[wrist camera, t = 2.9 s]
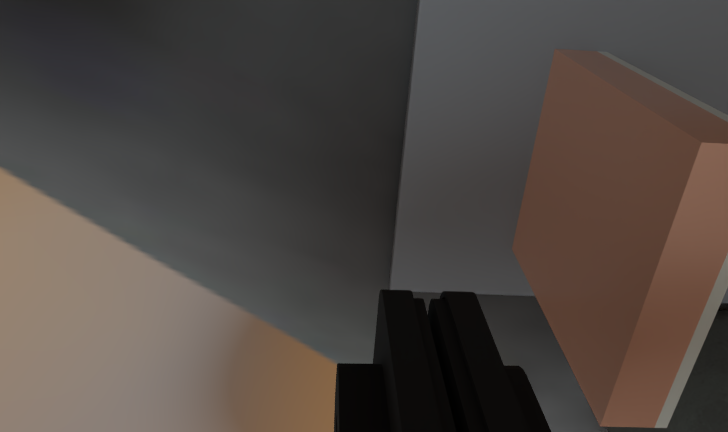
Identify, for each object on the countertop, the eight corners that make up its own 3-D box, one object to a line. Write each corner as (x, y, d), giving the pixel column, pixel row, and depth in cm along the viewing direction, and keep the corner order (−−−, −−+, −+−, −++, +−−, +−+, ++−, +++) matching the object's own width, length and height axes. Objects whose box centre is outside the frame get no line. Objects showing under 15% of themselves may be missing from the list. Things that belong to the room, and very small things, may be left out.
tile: (606, 52, 17) (788, 147, 10) (555, 250, 20) (666, 428, 13) (554, 48, 17) (701, 142, 10) (511, 248, 20) (599, 426, 13)
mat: (882, -3, 17) (897, -1, 17) (746, 296, 22) (754, 304, 22) (421, -35, 16) (423, -33, 16) (388, 283, 22) (389, 290, 21)
